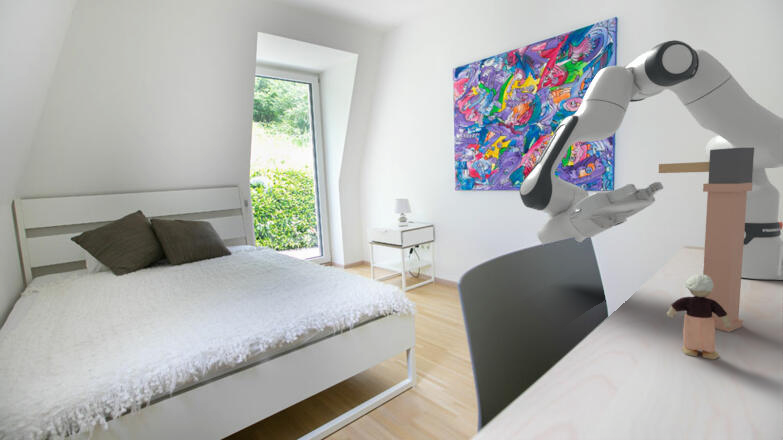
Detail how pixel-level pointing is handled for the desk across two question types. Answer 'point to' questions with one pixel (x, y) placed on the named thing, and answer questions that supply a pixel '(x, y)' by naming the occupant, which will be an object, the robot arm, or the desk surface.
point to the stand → (725, 247)
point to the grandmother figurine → (699, 317)
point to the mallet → (720, 166)
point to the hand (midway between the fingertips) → (647, 185)
